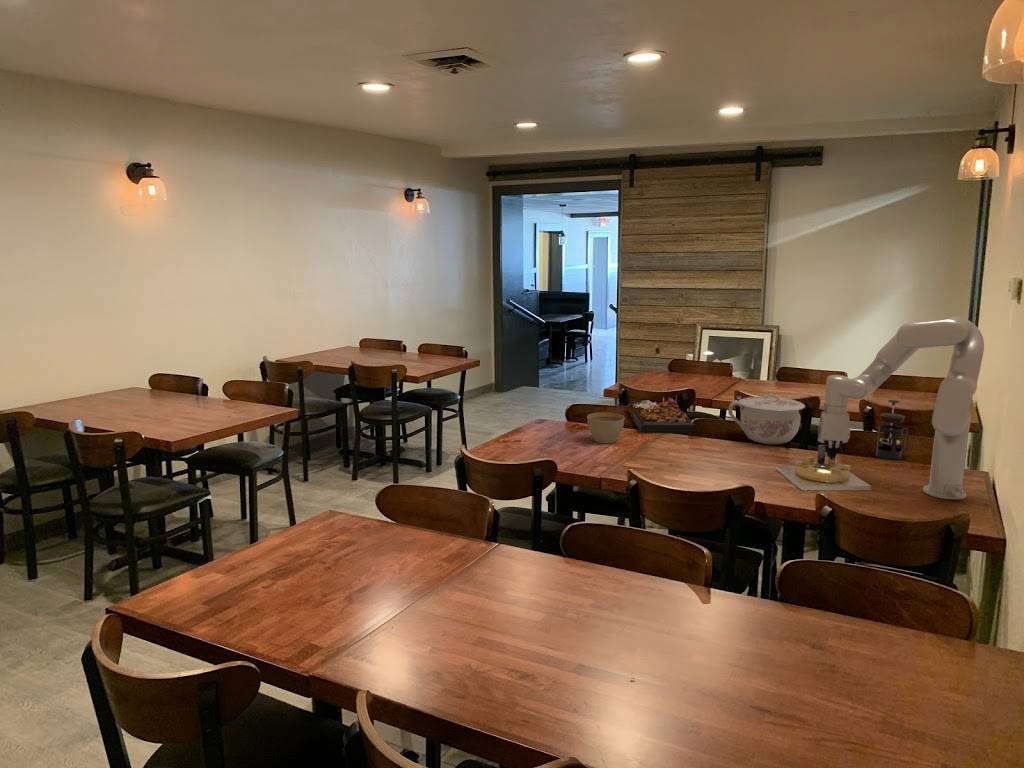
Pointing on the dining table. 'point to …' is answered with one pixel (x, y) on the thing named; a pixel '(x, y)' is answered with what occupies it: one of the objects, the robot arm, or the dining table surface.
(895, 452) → the french press
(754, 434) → the chamber pot
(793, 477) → the base plate
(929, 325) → the robot arm
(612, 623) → the dining table surface
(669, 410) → the food platter
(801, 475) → the gold disc with post
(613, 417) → the planter bowl
